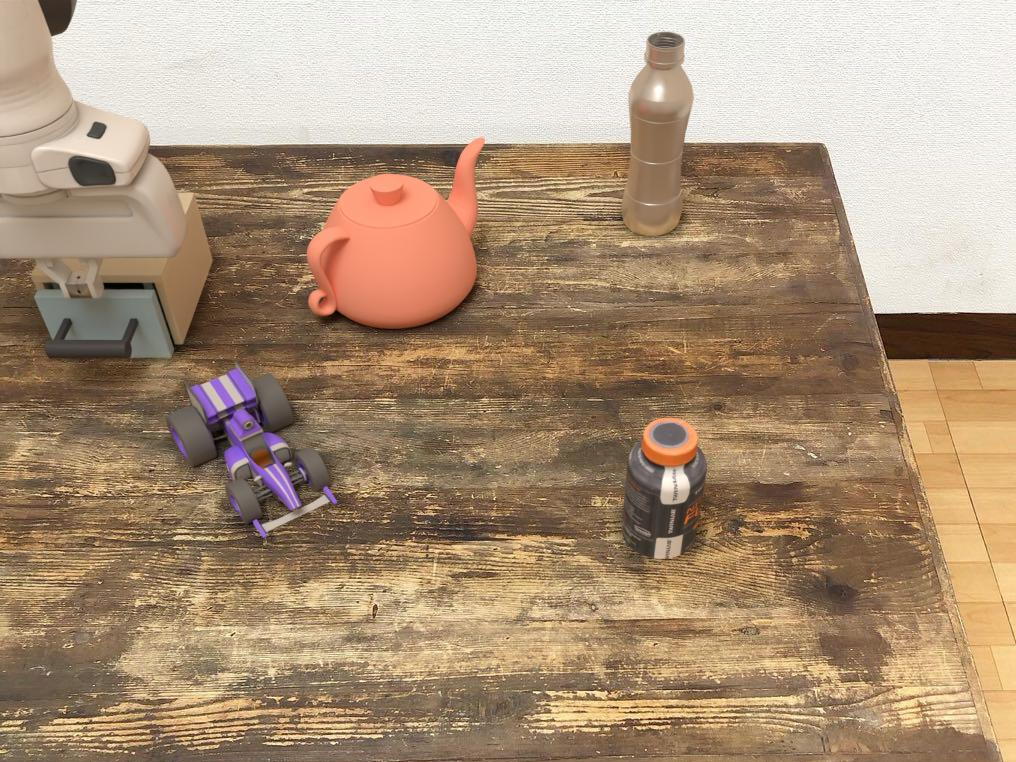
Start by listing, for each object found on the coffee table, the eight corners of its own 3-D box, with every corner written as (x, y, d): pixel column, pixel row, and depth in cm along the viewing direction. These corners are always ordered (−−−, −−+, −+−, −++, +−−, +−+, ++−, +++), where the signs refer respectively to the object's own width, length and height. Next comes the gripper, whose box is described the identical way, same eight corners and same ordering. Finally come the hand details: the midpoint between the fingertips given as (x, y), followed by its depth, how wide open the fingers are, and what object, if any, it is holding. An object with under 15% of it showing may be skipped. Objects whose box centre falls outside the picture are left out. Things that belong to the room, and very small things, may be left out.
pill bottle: (692, 570, 83) (709, 467, 75) (617, 561, 84) (625, 458, 75) (697, 514, 87) (714, 411, 79) (625, 506, 88) (633, 402, 79)
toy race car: (248, 554, 85) (230, 497, 80) (174, 447, 93) (153, 389, 88) (355, 502, 88) (343, 445, 83) (274, 404, 96) (259, 346, 91)
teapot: (443, 217, 116) (434, 106, 107) (540, 279, 109) (540, 166, 99) (271, 300, 106) (245, 187, 97) (365, 375, 99) (347, 260, 89)
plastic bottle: (687, 217, 116) (708, 29, 101) (671, 251, 112) (691, 60, 97) (629, 206, 117) (642, 20, 102) (612, 240, 113) (622, 50, 98)
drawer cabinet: (185, 352, 101) (160, 275, 95) (63, 351, 101) (30, 275, 95) (215, 267, 110) (194, 192, 104) (102, 267, 110) (75, 192, 104)
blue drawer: (159, 392, 96) (137, 331, 91) (43, 392, 96) (15, 331, 91) (200, 278, 107) (183, 218, 102) (97, 278, 108) (75, 218, 102)
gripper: (-126, 167, 80) (-48, 317, 90) (146, 165, 80) (193, 316, 90) (-93, 125, 84) (-22, 273, 95) (166, 123, 84) (209, 272, 94)
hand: (85, 294), depth 92 cm, fingers closed
